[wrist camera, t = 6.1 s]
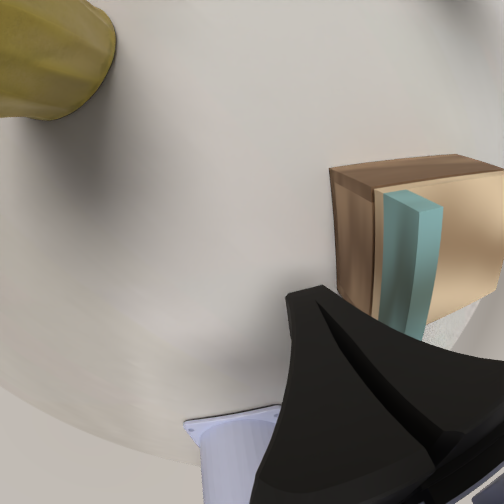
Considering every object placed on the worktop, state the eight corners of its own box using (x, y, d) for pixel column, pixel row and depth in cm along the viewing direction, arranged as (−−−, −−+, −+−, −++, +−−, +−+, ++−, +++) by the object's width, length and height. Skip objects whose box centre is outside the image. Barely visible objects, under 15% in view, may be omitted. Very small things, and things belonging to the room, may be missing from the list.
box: (449, 254, 17) (486, 282, 13) (337, 289, 16) (367, 332, 13) (455, 154, 14) (503, 168, 10) (329, 168, 13) (370, 186, 10)
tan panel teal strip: (489, 285, 13) (516, 307, 11) (369, 337, 12) (394, 375, 10) (507, 170, 10) (544, 184, 7) (374, 189, 9) (419, 212, 7)
